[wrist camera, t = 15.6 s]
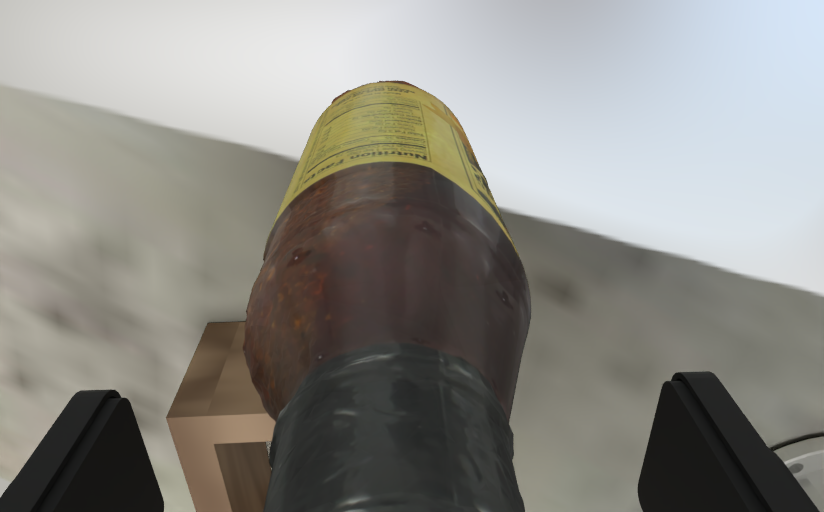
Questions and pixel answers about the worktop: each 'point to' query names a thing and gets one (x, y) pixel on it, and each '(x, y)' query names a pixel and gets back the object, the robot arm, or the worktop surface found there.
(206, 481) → the walnut sleeve
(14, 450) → the worktop surface
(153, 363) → the worktop surface
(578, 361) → the worktop surface
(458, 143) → the sauce bottle
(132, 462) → the robot arm
